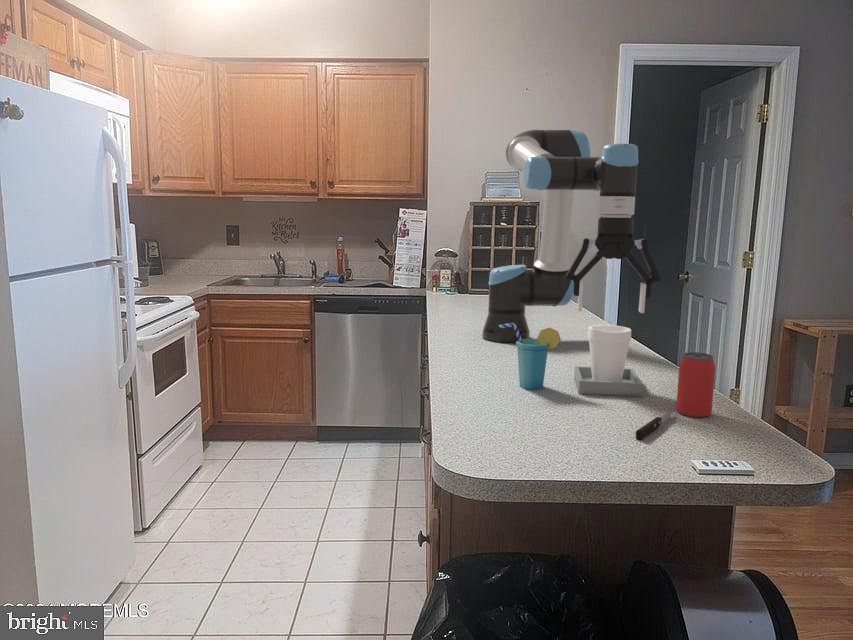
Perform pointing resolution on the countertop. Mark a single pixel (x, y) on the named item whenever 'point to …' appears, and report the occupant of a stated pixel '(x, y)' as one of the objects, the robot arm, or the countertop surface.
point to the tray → (608, 384)
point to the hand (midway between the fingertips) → (610, 311)
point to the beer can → (695, 384)
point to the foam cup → (608, 351)
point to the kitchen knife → (652, 425)
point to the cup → (534, 356)
